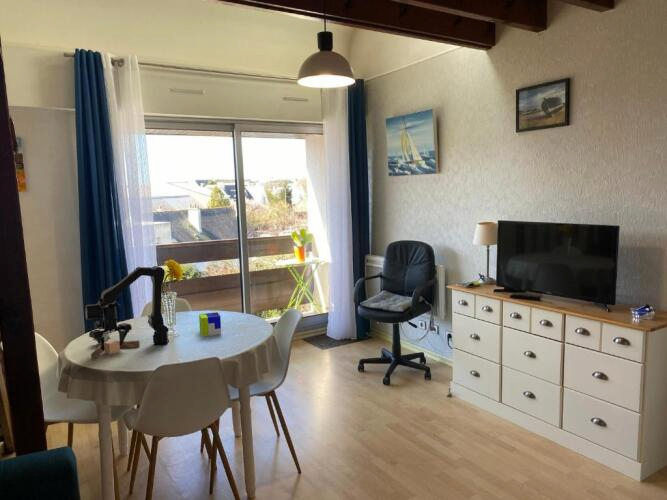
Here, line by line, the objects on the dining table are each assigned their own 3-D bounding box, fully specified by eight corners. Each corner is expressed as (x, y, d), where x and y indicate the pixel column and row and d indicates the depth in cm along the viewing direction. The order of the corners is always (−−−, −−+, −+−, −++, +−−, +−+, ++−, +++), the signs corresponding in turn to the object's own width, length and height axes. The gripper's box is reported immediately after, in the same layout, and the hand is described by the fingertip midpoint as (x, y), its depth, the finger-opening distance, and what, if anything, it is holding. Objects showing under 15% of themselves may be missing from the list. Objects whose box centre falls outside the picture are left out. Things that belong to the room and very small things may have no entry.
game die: (100, 351, 254) (86, 339, 249) (102, 341, 262) (89, 329, 256) (115, 343, 254) (102, 330, 249) (117, 333, 262) (104, 320, 256)
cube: (114, 349, 245) (113, 339, 245) (120, 351, 242) (119, 341, 242) (104, 352, 241) (104, 342, 241) (110, 354, 238) (109, 344, 238)
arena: (139, 346, 251) (139, 340, 251) (130, 358, 233) (129, 351, 232) (103, 348, 248) (103, 342, 248) (91, 360, 230) (90, 354, 230)
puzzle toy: (221, 334, 270) (220, 316, 269) (202, 336, 267) (201, 318, 265) (218, 329, 279) (217, 312, 278) (200, 331, 276) (199, 314, 275)
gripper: (119, 310, 252) (121, 340, 254) (82, 318, 237) (84, 349, 239) (131, 313, 245) (133, 344, 247) (94, 321, 231) (96, 354, 232)
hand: (112, 347), depth 242 cm, fingers open, 9 cm apart
